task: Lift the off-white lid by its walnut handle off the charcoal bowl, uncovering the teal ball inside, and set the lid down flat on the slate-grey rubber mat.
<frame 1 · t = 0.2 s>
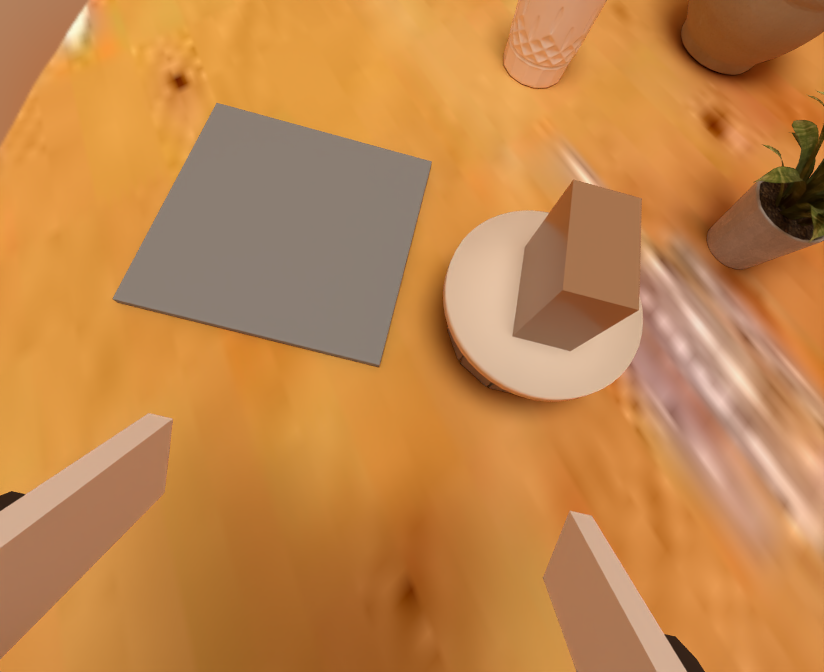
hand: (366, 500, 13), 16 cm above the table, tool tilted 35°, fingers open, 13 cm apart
planter bowl: (714, 50, 50), on the table
mat: (291, 226, 34), on the table
lid: (539, 303, 29), point 5 cm above the table, touching bowl
white cup: (531, 67, 45), on the table
bowl: (514, 328, 34), on the table
house plant: (718, 238, 40), on the table
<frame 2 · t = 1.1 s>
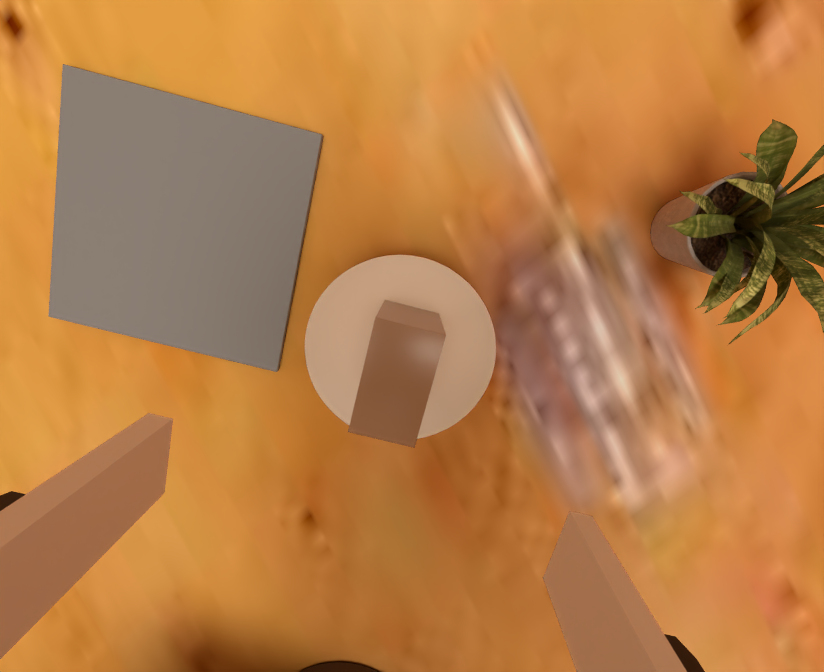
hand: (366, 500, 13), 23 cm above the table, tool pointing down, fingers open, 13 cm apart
mat: (182, 230, 34), on the table
lid: (400, 348, 31), point 5 cm above the table, touching bowl
house plant: (670, 217, 34), on the table
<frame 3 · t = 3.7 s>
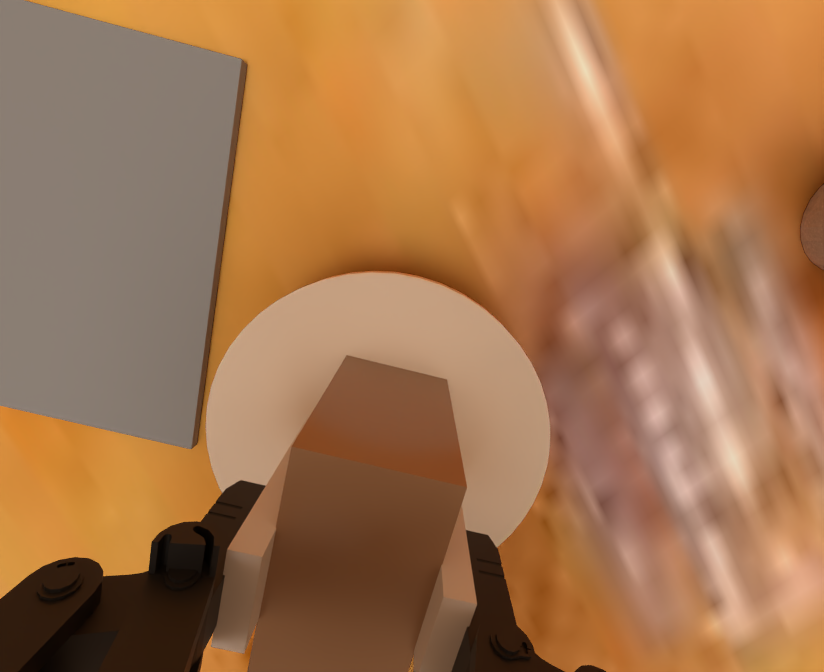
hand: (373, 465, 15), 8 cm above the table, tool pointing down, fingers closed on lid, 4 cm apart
mat: (25, 227, 21), on the table
lid: (379, 432, 18), point 5 cm above the table, touching bowl, gripper
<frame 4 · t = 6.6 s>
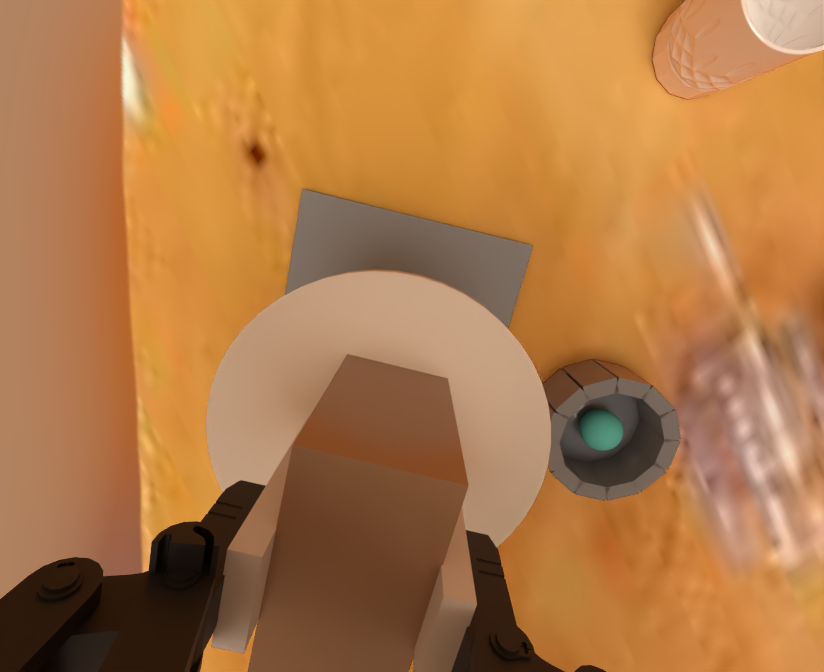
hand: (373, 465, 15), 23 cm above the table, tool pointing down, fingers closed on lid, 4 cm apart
mat: (393, 328, 38), on the table
ball: (592, 420, 38), point 1 cm above the table, touching bowl
lid: (380, 431, 18), point 20 cm above the table, touching gripper
white cup: (693, 52, 32), on the table
bowl: (588, 416, 39), on the table
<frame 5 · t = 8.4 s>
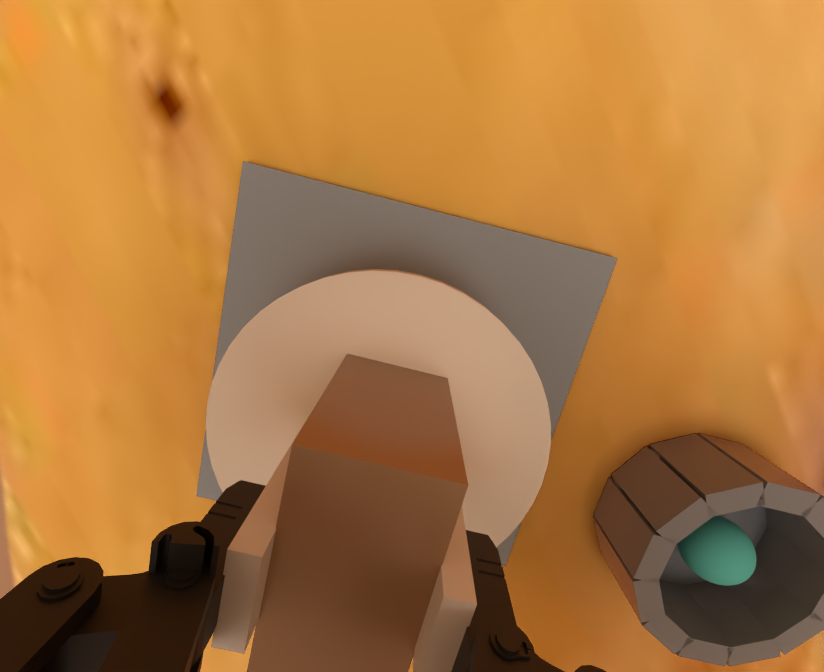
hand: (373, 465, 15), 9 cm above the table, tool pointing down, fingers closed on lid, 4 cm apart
mat: (390, 383, 24), on the table
ball: (694, 526, 25), point 1 cm above the table, touching bowl
lid: (380, 431, 18), point 6 cm above the table, touching gripper
bowl: (683, 515, 26), on the table
when the fingers open (5 cm above the table, at t = 9.9 s): lid drops 1 cm, resting on mat.
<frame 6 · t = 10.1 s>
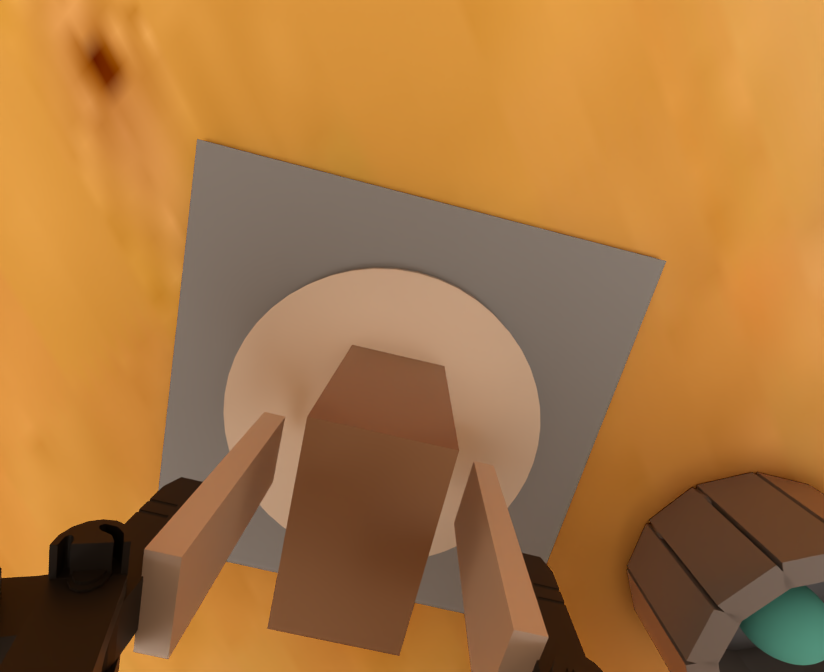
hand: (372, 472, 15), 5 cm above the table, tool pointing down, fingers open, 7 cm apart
mat: (384, 412, 20), on the table
ball: (750, 583, 21), point 1 cm above the table, touching bowl
lid: (383, 417, 19), point 1 cm above the table, touching mat
bowl: (735, 567, 22), on the table
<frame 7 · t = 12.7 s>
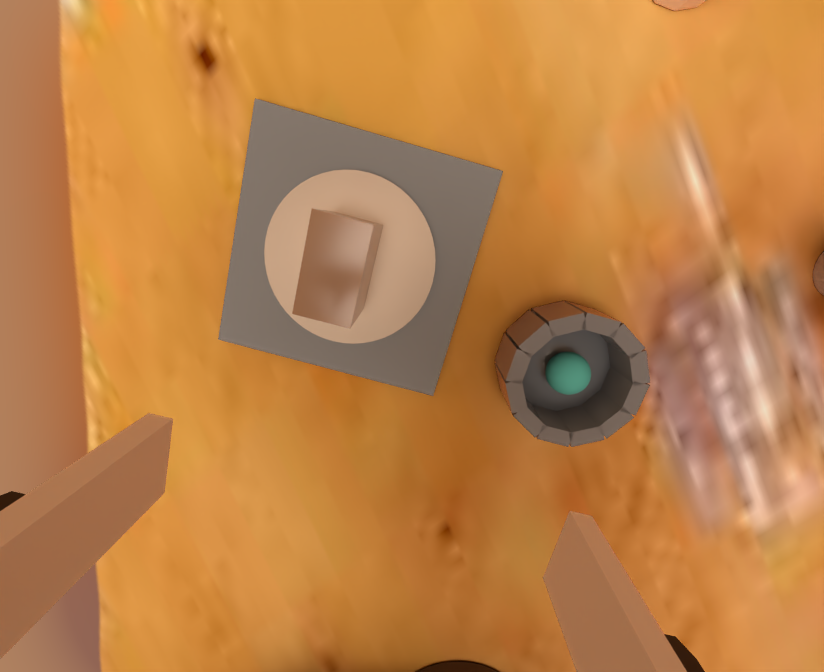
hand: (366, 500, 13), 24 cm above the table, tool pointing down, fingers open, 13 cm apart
mat: (353, 259, 35), on the table
ball: (560, 365, 36), point 1 cm above the table, touching bowl
lid: (352, 260, 35), point 1 cm above the table, touching mat
bowl: (557, 362, 37), on the table
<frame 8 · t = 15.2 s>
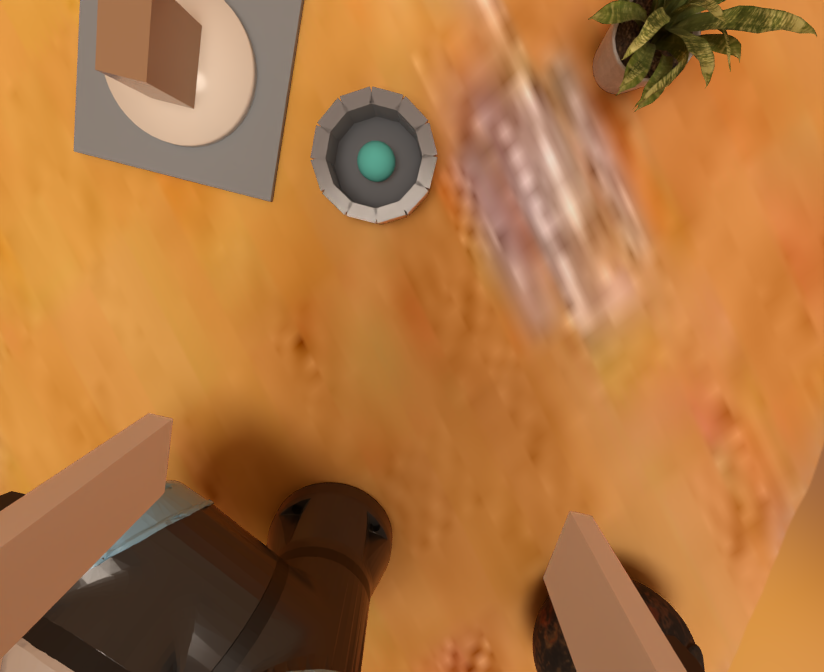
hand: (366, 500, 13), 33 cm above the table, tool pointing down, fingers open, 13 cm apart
mat: (187, 70, 40), on the table
ball: (378, 164, 40), point 1 cm above the table, touching bowl
lid: (183, 67, 39), point 1 cm above the table, touching mat
bowl: (379, 166, 41), on the table
glass bottle: (589, 603, 54), on the table
house plant: (609, 53, 39), on the table
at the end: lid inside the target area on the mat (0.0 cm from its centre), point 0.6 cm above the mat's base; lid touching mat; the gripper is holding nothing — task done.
